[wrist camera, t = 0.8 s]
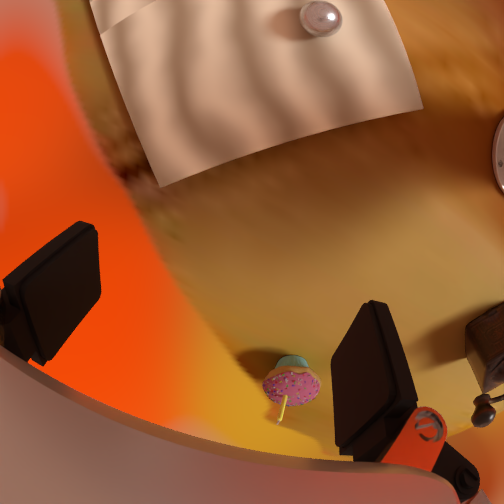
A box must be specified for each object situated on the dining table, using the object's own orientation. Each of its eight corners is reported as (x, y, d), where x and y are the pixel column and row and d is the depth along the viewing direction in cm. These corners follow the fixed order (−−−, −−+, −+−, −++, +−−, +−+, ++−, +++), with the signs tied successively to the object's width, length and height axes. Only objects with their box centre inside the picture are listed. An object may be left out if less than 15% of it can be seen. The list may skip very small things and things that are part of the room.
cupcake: (256, 368, 46) (246, 430, 35) (284, 338, 42) (280, 406, 31) (299, 385, 47) (298, 445, 36) (330, 358, 43) (335, 423, 32)
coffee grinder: (511, 294, 34) (562, 368, 18) (507, 334, 38) (545, 404, 22) (438, 334, 39) (475, 425, 23) (442, 370, 43) (469, 449, 27)
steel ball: (330, 4, 20) (335, -10, 17) (344, 37, 22) (353, 27, 18) (292, 12, 21) (292, -1, 18) (307, 45, 23) (309, 36, 19)
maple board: (309, -103, 12) (309, -109, 11) (418, 108, 25) (423, 108, 24) (89, -18, 20) (83, -21, 19) (165, 184, 33) (160, 188, 32)
